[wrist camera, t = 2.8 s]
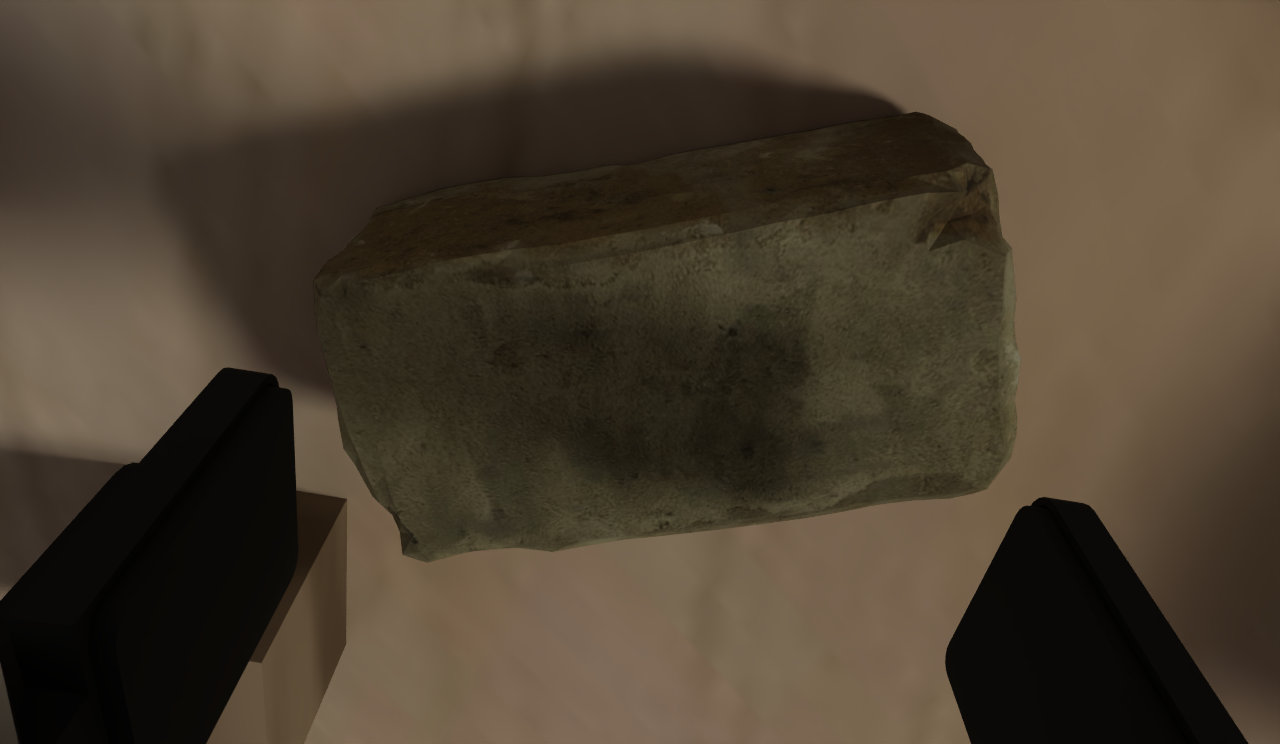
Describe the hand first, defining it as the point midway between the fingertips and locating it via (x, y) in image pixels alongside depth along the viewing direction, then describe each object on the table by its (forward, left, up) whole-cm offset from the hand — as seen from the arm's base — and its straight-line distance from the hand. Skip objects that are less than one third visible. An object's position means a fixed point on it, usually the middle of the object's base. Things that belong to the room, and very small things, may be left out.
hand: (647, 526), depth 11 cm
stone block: (0, 0, -8) cm, 8 cm away
